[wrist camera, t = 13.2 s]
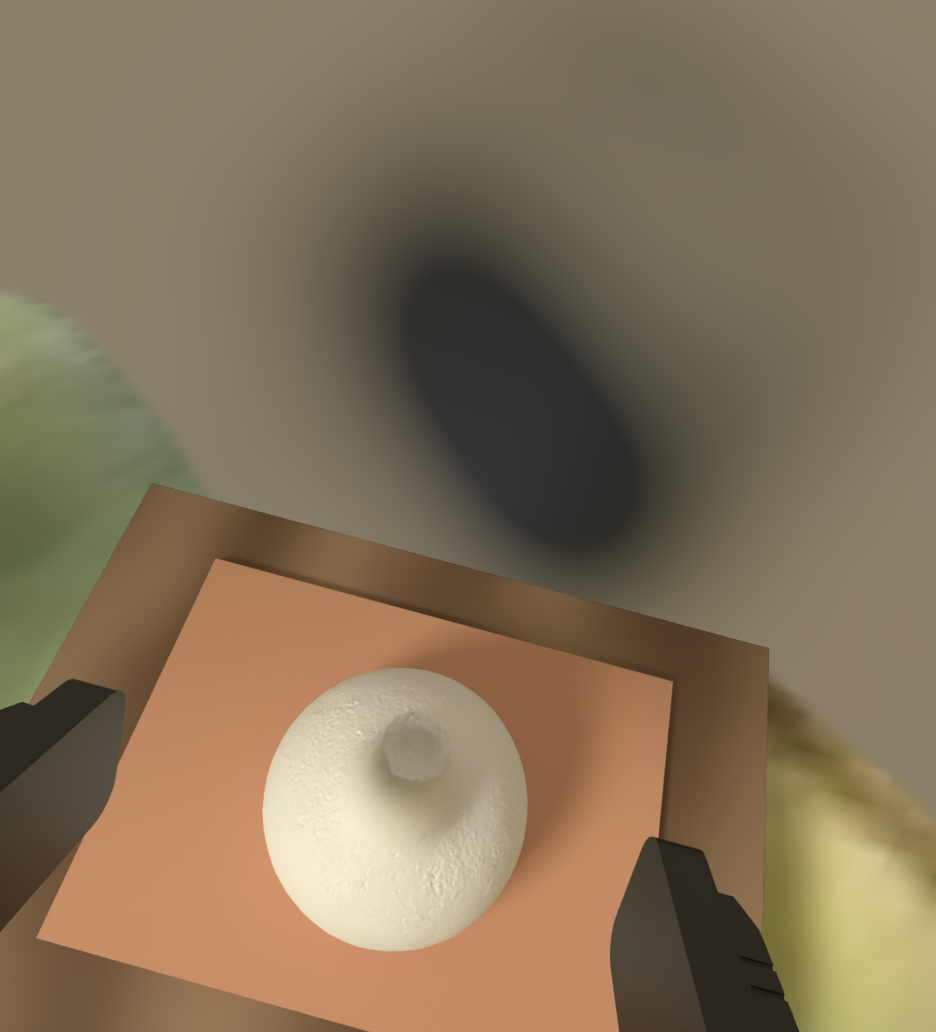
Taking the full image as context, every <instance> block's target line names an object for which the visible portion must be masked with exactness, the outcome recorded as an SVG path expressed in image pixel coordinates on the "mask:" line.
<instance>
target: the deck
mask: <svg viewBox="0 0 936 1032" xmlns="http://www.w3.org/2000/svg"><path fill="white" fill-rule="evenodd" d="M215 558H216V559H220V560H224V561H228V562H231V563H235V564H239V565H242V566H246V567H250V568H254V569H257V570H261V571H265V572H268V573H272V574H276V575H279V576H283V577H287V578H291V579H294V580H298V581H302V582H305V583H309V584H313V585H317V586H320V587H324V588H328V589H331V590H335V591H339V592H343V593H346V594H350V595H354V596H357V597H361V598H365V599H369V600H372V601H376V602H380V603H383V604H387V605H391V606H395V607H398V608H402V609H406V610H409V611H413V612H417V613H421V614H424V615H428V616H432V617H435V618H439V619H443V620H446V621H450V622H454V623H458V624H461V625H465V626H469V627H472V628H476V629H480V630H484V631H487V632H491V633H495V634H498V635H502V636H506V637H510V638H513V639H517V640H521V641H524V642H528V643H532V644H536V645H539V646H543V647H547V648H550V649H554V650H558V651H562V652H565V653H569V654H573V655H576V656H580V657H584V658H588V659H591V660H595V661H599V662H602V663H606V664H610V665H613V666H617V667H621V668H625V669H628V670H632V671H636V672H639V673H643V674H647V675H651V676H654V677H658V678H662V679H665V680H669V681H673V687H672V697H671V708H670V719H669V729H668V740H667V751H666V761H665V772H664V783H663V793H662V804H661V815H660V825H659V836H658V838H660V839H664V840H667V841H671V842H675V843H678V844H682V845H686V846H690V847H693V848H697V849H700V850H702V851H703V853H704V854H705V856H706V859H707V862H708V865H709V868H710V870H711V873H712V876H713V879H714V882H715V885H716V888H717V891H718V892H719V893H723V894H726V895H730V896H734V898H735V899H736V900H737V901H738V903H739V904H740V905H741V907H742V908H743V909H744V911H745V912H746V913H747V914H748V916H749V917H750V918H751V920H752V921H753V922H754V923H755V925H756V926H757V927H758V929H759V930H760V933H761V935H762V925H763V883H764V841H765V799H766V757H767V715H768V673H769V648H765V647H762V646H758V645H755V644H751V643H747V642H743V641H740V640H736V639H732V638H729V637H725V636H721V635H717V634H713V633H710V632H706V631H702V630H699V629H694V628H691V627H687V626H684V625H680V624H676V623H673V622H669V621H665V620H661V619H658V618H654V617H650V616H646V615H643V614H639V613H635V612H631V611H628V610H624V609H620V608H617V607H612V606H609V605H605V604H602V603H598V602H594V601H590V600H586V599H583V598H579V597H575V596H572V595H568V594H564V593H561V592H557V591H553V590H549V589H546V588H542V587H538V586H534V585H531V584H527V583H523V582H519V581H516V580H512V579H508V578H504V577H501V576H497V575H493V574H490V573H486V572H482V571H478V570H475V569H471V568H467V567H463V566H460V565H456V564H452V563H449V562H445V561H441V560H437V559H434V558H429V557H426V556H422V555H419V554H415V553H411V552H407V551H404V550H400V549H396V548H393V547H389V546H385V545H381V544H378V543H374V542H370V541H366V540H363V539H359V538H355V537H351V536H348V535H344V534H340V533H336V532H333V531H329V530H325V529H322V528H317V527H314V526H310V525H307V524H303V523H299V522H295V521H291V520H287V519H284V518H280V517H277V516H273V515H269V514H266V513H262V512H258V511H254V510H251V509H247V508H243V507H239V506H236V505H232V504H228V503H225V502H221V501H217V500H213V499H210V498H206V497H202V496H198V495H195V494H191V493H187V492H184V491H180V490H176V489H172V488H169V487H165V486H161V485H157V484H154V483H152V484H151V486H150V488H149V489H148V491H147V493H146V495H145V497H144V498H143V500H142V502H141V504H140V506H139V507H138V509H137V511H136V513H135V515H134V516H133V518H132V520H131V522H130V523H129V525H128V527H127V529H126V531H125V532H124V534H123V536H122V538H121V540H120V541H119V543H118V545H117V547H116V549H115V550H114V552H113V554H112V556H111V558H110V559H109V561H108V563H107V565H106V567H105V568H104V570H103V572H102V574H101V576H100V577H99V579H98V581H97V583H96V585H95V586H94V588H93V590H92V592H91V593H90V595H89V597H88V599H87V601H86V602H85V604H84V606H83V608H82V610H81V611H80V613H79V615H78V617H77V619H76V620H75V622H74V624H73V626H72V628H71V629H70V631H69V633H68V635H67V637H66V638H65V640H64V642H63V644H62V646H61V647H60V649H59V651H58V653H57V654H56V656H55V658H54V660H53V662H52V663H51V665H50V667H49V669H48V671H47V672H46V674H45V676H44V678H43V680H42V681H41V683H40V685H39V687H38V689H37V690H36V692H35V694H34V696H33V698H32V699H31V701H30V703H29V704H30V705H35V704H36V703H38V702H39V701H40V700H42V699H43V698H44V697H46V696H47V695H48V694H49V693H51V692H52V691H53V690H55V689H56V688H57V687H59V686H60V685H61V684H63V683H64V682H66V681H67V680H69V679H77V680H81V681H84V682H88V683H92V684H95V685H99V686H103V687H106V688H110V689H114V690H118V691H121V692H123V693H124V695H125V698H126V707H125V715H124V722H123V729H122V736H121V744H120V751H119V758H118V764H119V762H120V760H121V757H122V755H123V753H124V751H125V749H126V747H127V745H128V743H129V740H130V738H131V736H132V734H133V732H134V730H135V728H136V726H137V724H138V721H139V719H140V717H141V715H142V713H143V711H144V709H145V707H146V704H147V702H148V700H149V698H150V696H151V694H152V692H153V690H154V688H155V685H156V683H157V681H158V679H159V677H160V675H161V673H162V671H163V668H164V666H165V664H166V662H167V660H168V658H169V656H170V654H171V652H172V649H173V647H174V645H175V643H176V641H177V639H178V637H179V635H180V632H181V630H182V628H183V626H184V624H185V622H186V620H187V618H188V616H189V613H190V611H191V609H192V607H193V605H194V603H195V601H196V599H197V596H198V594H199V592H200V590H201V588H202V586H203V584H204V582H205V580H206V577H207V575H208V573H209V571H210V569H211V567H212V565H213V563H214V560H215ZM117 766H118V765H117ZM84 836H85V835H84ZM83 838H84V837H83ZM83 838H82V839H81V840H80V841H79V842H78V843H77V845H76V846H75V847H74V848H73V849H72V850H71V851H70V853H69V854H68V855H67V856H66V857H65V858H64V860H63V861H62V862H61V863H60V864H59V865H58V866H57V868H56V869H55V870H54V871H53V872H52V873H51V874H50V876H49V877H48V878H47V879H46V880H45V881H44V882H43V884H42V885H41V886H40V887H39V888H38V889H37V890H36V892H35V893H34V894H33V895H32V896H31V897H30V899H29V900H28V901H27V902H26V903H25V904H24V905H23V907H22V908H21V909H20V910H19V911H18V912H17V913H16V915H15V916H14V917H13V918H12V919H11V920H10V921H9V923H8V924H7V925H6V926H5V927H4V928H3V929H2V931H1V932H0V1032H368V1031H365V1030H361V1029H358V1028H354V1027H351V1026H347V1025H343V1024H340V1023H336V1022H333V1021H329V1020H326V1019H322V1018H318V1017H315V1016H311V1015H308V1014H304V1013H301V1012H297V1011H294V1010H290V1009H286V1008H283V1007H279V1006H276V1005H272V1004H269V1003H265V1002H262V1001H258V1000H254V999H251V998H247V997H244V996H240V995H237V994H233V993H230V992H226V991H222V990H219V989H215V988H212V987H208V986H205V985H201V984H198V983H194V982H190V981H187V980H183V979H180V978H176V977H173V976H169V975H166V974H162V973H158V972H155V971H151V970H148V969H144V968H141V967H137V966H134V965H130V964H126V963H123V962H119V961H116V960H112V959H109V958H105V957H101V956H98V955H94V954H91V953H87V952H84V951H80V950H77V949H73V948H69V947H66V946H62V945H59V944H55V943H52V942H48V941H45V940H41V939H37V938H36V937H37V935H38V933H39V931H40V929H41V927H42V925H43V923H44V920H45V918H46V916H47V914H48V912H49V910H50V908H51V906H52V903H53V901H54V899H55V897H56V895H57V893H58V891H59V889H60V887H61V884H62V882H63V880H64V878H65V876H66V874H67V872H68V870H69V867H70V865H71V863H72V861H73V859H74V857H75V855H76V853H77V851H78V848H79V846H80V844H81V842H82V840H83Z"/></svg>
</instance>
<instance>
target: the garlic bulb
mask: <svg viewBox="0 0 936 1032" xmlns="http://www.w3.org/2000/svg"><path fill="white" fill-rule="evenodd" d="M527 804H528V797H527V788H526V781H525V775H524V771H523V766H522V763H521V760H520V756H519V754H518V751H517V749H516V746H515V744H514V742H513V740H512V737H511V736H510V734H509V732H508V730H507V729H506V727H505V725H504V724H503V722H502V721H501V719H500V718H499V717H498V715H497V714H496V713H495V711H494V710H493V709H492V708H491V707H490V706H489V705H488V704H487V703H486V702H485V701H484V700H483V699H482V698H480V697H479V696H478V695H477V694H475V693H474V692H473V691H472V690H470V689H469V688H467V687H466V686H464V685H462V684H461V683H459V682H457V681H455V680H453V679H451V678H448V677H446V676H443V675H440V674H437V673H434V672H430V671H426V670H421V669H412V668H389V669H381V670H376V671H371V672H367V673H364V674H361V675H357V676H355V677H352V678H349V679H347V680H345V681H343V682H341V683H339V684H338V685H336V686H334V687H332V688H331V689H329V690H327V691H326V692H324V693H323V694H321V695H320V696H319V697H318V698H317V699H315V700H314V701H313V702H312V703H311V704H309V705H308V706H307V707H306V708H305V709H304V710H303V711H302V713H301V714H300V715H299V716H298V717H297V719H296V720H295V721H294V722H293V723H292V725H291V726H290V728H289V729H288V730H287V732H286V733H285V735H284V737H283V739H282V741H281V742H280V744H279V746H278V748H277V751H276V753H275V755H274V757H273V760H272V762H271V765H270V768H269V772H268V775H267V780H266V785H265V791H264V800H263V808H262V812H263V827H264V835H265V840H266V844H267V850H268V852H269V856H270V859H271V862H272V865H273V868H274V870H275V873H276V875H277V876H278V878H279V880H280V882H281V884H282V885H283V887H284V889H285V891H286V893H287V894H288V895H289V896H290V898H291V899H292V900H293V902H294V903H295V904H296V905H297V906H298V907H299V909H300V910H301V911H302V912H303V913H304V914H305V915H306V916H307V918H309V919H310V920H311V921H312V922H313V923H315V924H316V925H317V926H319V927H320V928H321V929H323V930H324V931H326V932H327V933H328V934H330V935H332V936H334V937H336V938H338V939H340V940H342V941H344V942H346V943H349V944H351V945H355V946H357V947H359V948H366V949H373V950H378V951H397V952H399V951H408V950H416V949H422V948H425V947H428V946H432V945H436V944H438V943H440V942H443V941H445V940H448V939H450V938H452V937H453V936H455V935H457V934H459V933H460V932H462V931H463V930H464V929H465V928H467V927H468V926H470V925H471V924H472V923H473V922H475V921H476V920H477V919H478V918H479V917H480V916H481V915H482V914H484V913H485V912H486V911H487V909H488V908H489V907H490V906H491V905H492V904H493V903H494V901H495V900H496V899H497V897H498V896H499V895H500V893H501V891H502V890H503V889H504V887H505V885H506V884H507V882H508V880H509V878H510V876H511V874H512V873H513V871H514V868H515V866H516V863H517V861H518V858H519V855H520V852H521V848H522V845H523V841H524V836H525V830H526V823H527Z"/></svg>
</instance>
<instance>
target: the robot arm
mask: <svg viewBox="0 0 936 1032" xmlns="http://www.w3.org/2000/svg"><path fill="white" fill-rule="evenodd" d="M125 707H126V698H125V695H124V693H123V692H121V691H118V690H114V689H110V688H106V687H103V686H99V685H95V684H92V683H88V682H84V681H81V680H77V679H69V680H67V681H66V682H64V683H63V684H61V685H60V686H59V687H57V688H56V689H55V690H53V691H52V692H51V693H49V694H48V695H47V696H46V697H44V698H43V699H42V700H40V701H39V702H38V703H36V704H35V705H30V704H27V703H23V702H20V703H18V704H15V705H12V706H10V707H7V708H4V709H2V710H0V932H1V931H2V929H3V928H4V927H5V926H6V925H7V924H8V923H9V921H10V920H11V919H12V918H13V917H14V916H15V915H16V913H17V912H18V911H19V910H20V909H21V908H22V907H23V905H24V904H25V903H26V902H27V901H28V900H29V899H30V897H31V896H32V895H33V894H34V893H35V892H36V890H37V889H38V888H39V887H40V886H41V885H42V884H43V882H44V881H45V880H46V879H47V878H48V877H49V876H50V874H51V873H52V872H53V871H54V870H55V869H56V868H57V866H58V865H59V864H60V863H61V862H62V861H63V860H64V858H65V857H66V856H67V855H68V854H69V853H70V851H71V850H72V849H73V848H74V847H75V846H76V845H77V843H78V842H79V841H80V840H81V839H82V838H83V837H84V835H85V834H86V833H87V832H88V831H89V830H90V829H91V827H92V826H93V825H94V824H95V823H96V821H97V820H98V818H99V817H100V815H101V814H102V812H103V810H104V809H105V807H106V805H107V803H108V800H109V798H110V796H111V793H112V790H113V787H114V783H115V779H116V772H117V765H118V758H119V751H120V744H121V736H122V729H123V722H124V715H125ZM610 967H611V975H612V983H613V990H614V997H615V1005H616V1012H617V1020H618V1027H619V1032H799V1030H798V1027H797V1025H796V1022H795V1020H794V1017H793V1014H792V1012H791V1009H790V1007H789V1004H788V1002H786V1001H784V991H783V989H782V986H781V984H780V981H779V979H778V976H777V974H776V972H775V971H773V970H772V967H773V963H772V961H771V958H770V956H769V953H768V951H767V948H766V945H765V943H764V940H763V938H762V935H761V933H760V930H759V929H758V927H757V926H756V925H755V923H754V922H753V921H752V920H751V918H750V917H749V916H748V914H747V913H746V912H745V911H744V909H743V908H742V907H741V905H740V904H739V903H738V901H737V900H736V899H735V898H734V896H730V895H726V894H723V893H719V892H718V891H717V888H716V885H715V882H714V879H713V876H712V873H711V870H710V868H709V865H708V862H707V859H706V856H705V854H704V853H703V851H702V850H700V849H697V848H693V847H690V846H686V845H682V844H678V843H675V842H671V841H667V840H664V839H660V838H656V837H652V836H651V837H649V838H647V840H646V841H645V843H644V844H643V847H642V849H641V851H640V854H639V857H638V859H637V862H636V865H635V867H634V870H633V872H632V875H631V878H630V880H629V883H628V886H627V888H626V891H625V894H624V896H623V899H622V901H621V904H620V907H619V909H618V912H617V915H616V918H615V921H614V925H613V929H612V935H611V943H610Z"/></svg>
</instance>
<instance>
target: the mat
mask: <svg viewBox="0 0 936 1032" xmlns="http://www.w3.org/2000/svg"><path fill="white" fill-rule="evenodd" d="M389 668H412V669H421V670H426V671H430V672H434V673H437V674H440V675H443V676H446V677H448V678H451V679H453V680H455V681H457V682H459V683H461V684H462V685H464V686H466V687H467V688H469V689H470V690H472V691H473V692H474V693H475V694H477V695H478V696H479V697H480V698H482V699H483V700H484V701H485V702H486V703H487V704H488V705H489V706H490V707H491V708H492V709H493V710H494V711H495V713H496V714H497V715H498V717H499V718H500V719H501V721H502V722H503V724H504V725H505V727H506V729H507V730H508V732H509V734H510V736H511V737H512V740H513V742H514V744H515V746H516V749H517V751H518V754H519V756H520V760H521V763H522V766H523V771H524V775H525V781H526V788H527V797H528V804H527V823H526V830H525V836H524V841H523V845H522V848H521V852H520V855H519V858H518V861H517V863H516V866H515V868H514V871H513V873H512V874H511V876H510V878H509V880H508V882H507V884H506V885H505V887H504V889H503V890H502V891H501V893H500V895H499V896H498V897H497V899H496V900H495V901H494V903H493V904H492V905H491V906H490V907H489V908H488V909H487V911H486V912H485V913H484V914H482V915H481V916H480V917H479V918H478V919H477V920H476V921H475V922H473V923H472V924H471V925H470V926H468V927H467V928H465V929H464V930H463V931H462V932H460V933H459V934H457V935H455V936H453V937H452V938H450V939H448V940H445V941H443V942H440V943H438V944H436V945H432V946H428V947H425V948H422V949H416V950H408V951H399V952H397V951H378V950H373V949H366V948H359V947H357V946H355V945H351V944H349V943H346V942H344V941H342V940H340V939H338V938H336V937H334V936H332V935H330V934H328V933H327V932H326V931H324V930H323V929H321V928H320V927H319V926H317V925H316V924H315V923H313V922H312V921H311V920H310V919H309V918H307V916H306V915H305V914H304V913H303V912H302V911H301V910H300V909H299V907H298V906H297V905H296V904H295V903H294V902H293V900H292V899H291V898H290V896H289V895H288V894H287V893H286V891H285V889H284V887H283V885H282V884H281V882H280V880H279V878H278V876H277V875H276V873H275V870H274V868H273V865H272V862H271V859H270V856H269V852H268V850H267V844H266V840H265V835H264V827H263V812H262V808H263V800H264V791H265V785H266V780H267V775H268V772H269V768H270V765H271V762H272V760H273V757H274V755H275V753H276V751H277V748H278V746H279V744H280V742H281V741H282V739H283V737H284V735H285V733H286V732H287V730H288V729H289V728H290V726H291V725H292V723H293V722H294V721H295V720H296V719H297V717H298V716H299V715H300V714H301V713H302V711H303V710H304V709H305V708H306V707H307V706H308V705H309V704H311V703H312V702H313V701H314V700H315V699H317V698H318V697H319V696H320V695H321V694H323V693H324V692H326V691H327V690H329V689H331V688H332V687H334V686H336V685H338V684H339V683H341V682H343V681H345V680H347V679H349V678H352V677H355V676H357V675H361V674H364V673H367V672H371V671H376V670H381V669H389ZM672 687H673V681H669V680H665V679H662V678H658V677H654V676H651V675H647V674H643V673H639V672H636V671H632V670H628V669H625V668H621V667H617V666H613V665H610V664H606V663H602V662H599V661H595V660H591V659H588V658H584V657H580V656H576V655H573V654H569V653H565V652H562V651H558V650H554V649H550V648H547V647H543V646H539V645H536V644H532V643H528V642H524V641H521V640H517V639H513V638H510V637H506V636H502V635H498V634H495V633H491V632H487V631H484V630H480V629H476V628H472V627H469V626H465V625H461V624H458V623H454V622H450V621H446V620H443V619H439V618H435V617H432V616H428V615H424V614H421V613H417V612H413V611H409V610H406V609H402V608H398V607H395V606H391V605H387V604H383V603H380V602H376V601H372V600H369V599H365V598H361V597H357V596H354V595H350V594H346V593H343V592H339V591H335V590H331V589H328V588H324V587H320V586H317V585H313V584H309V583H305V582H302V581H298V580H294V579H291V578H287V577H283V576H279V575H276V574H272V573H268V572H265V571H261V570H257V569H254V568H250V567H246V566H242V565H239V564H235V563H231V562H228V561H224V560H220V559H216V558H215V560H214V563H213V565H212V567H211V569H210V571H209V573H208V575H207V577H206V580H205V582H204V584H203V586H202V588H201V590H200V592H199V594H198V596H197V599H196V601H195V603H194V605H193V607H192V609H191V611H190V613H189V616H188V618H187V620H186V622H185V624H184V626H183V628H182V630H181V632H180V635H179V637H178V639H177V641H176V643H175V645H174V647H173V649H172V652H171V654H170V656H169V658H168V660H167V662H166V664H165V666H164V668H163V671H162V673H161V675H160V677H159V679H158V681H157V683H156V685H155V688H154V690H153V692H152V694H151V696H150V698H149V700H148V702H147V704H146V707H145V709H144V711H143V713H142V715H141V717H140V719H139V721H138V724H137V726H136V728H135V730H134V732H133V734H132V736H131V738H130V740H129V743H128V745H127V747H126V749H125V751H124V753H123V755H122V757H121V760H120V762H119V764H118V766H117V772H116V779H115V783H114V787H113V790H112V793H111V796H110V798H109V800H108V803H107V805H106V807H105V809H104V810H103V812H102V814H101V815H100V817H99V818H98V820H97V821H96V823H95V824H94V825H93V826H92V827H91V829H90V830H89V831H88V832H87V833H86V834H85V836H84V838H83V840H82V842H81V844H80V846H79V848H78V851H77V853H76V855H75V857H74V859H73V861H72V863H71V865H70V867H69V870H68V872H67V874H66V876H65V878H64V880H63V882H62V884H61V887H60V889H59V891H58V893H57V895H56V897H55V899H54V901H53V903H52V906H51V908H50V910H49V912H48V914H47V916H46V918H45V920H44V923H43V925H42V927H41V929H40V931H39V933H38V935H37V937H36V938H37V939H41V940H45V941H48V942H52V943H55V944H59V945H62V946H66V947H69V948H73V949H77V950H80V951H84V952H87V953H91V954H94V955H98V956H101V957H105V958H109V959H112V960H116V961H119V962H123V963H126V964H130V965H134V966H137V967H141V968H144V969H148V970H151V971H155V972H158V973H162V974H166V975H169V976H173V977H176V978H180V979H183V980H187V981H190V982H194V983H198V984H201V985H205V986H208V987H212V988H215V989H219V990H222V991H226V992H230V993H233V994H237V995H240V996H244V997H247V998H251V999H254V1000H258V1001H262V1002H265V1003H269V1004H272V1005H276V1006H279V1007H283V1008H286V1009H290V1010H294V1011H297V1012H301V1013H304V1014H308V1015H311V1016H315V1017H318V1018H322V1019H326V1020H329V1021H333V1022H336V1023H340V1024H343V1025H347V1026H351V1027H354V1028H358V1029H361V1030H365V1031H368V1032H619V1027H618V1020H617V1012H616V1005H615V997H614V990H613V983H612V975H611V967H610V943H611V935H612V929H613V925H614V921H615V918H616V915H617V912H618V909H619V907H620V904H621V901H622V899H623V896H624V894H625V891H626V888H627V886H628V883H629V880H630V878H631V875H632V872H633V870H634V867H635V865H636V862H637V859H638V857H639V854H640V851H641V849H642V847H643V844H644V843H645V841H646V840H647V838H649V837H651V836H652V837H656V838H658V836H659V825H660V815H661V804H662V793H663V783H664V772H665V761H666V751H667V740H668V729H669V719H670V708H671V697H672Z"/></svg>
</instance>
